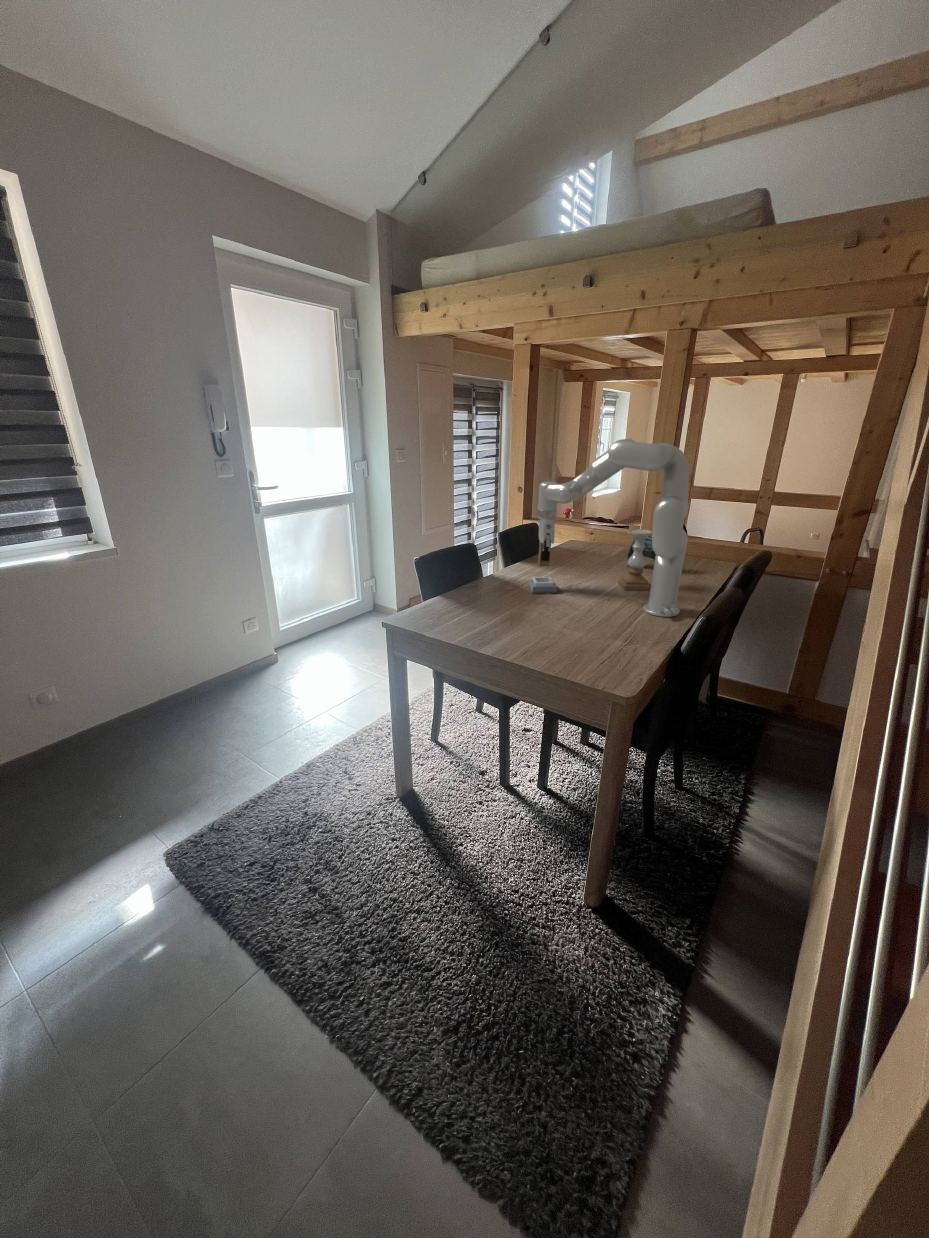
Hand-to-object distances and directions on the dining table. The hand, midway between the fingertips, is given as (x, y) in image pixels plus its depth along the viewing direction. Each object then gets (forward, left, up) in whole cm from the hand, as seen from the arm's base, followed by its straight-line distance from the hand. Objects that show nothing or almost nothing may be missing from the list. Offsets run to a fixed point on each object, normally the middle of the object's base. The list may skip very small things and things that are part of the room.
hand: (543, 558), depth 202 cm
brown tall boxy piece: (0, 0, -3) cm, 3 cm away
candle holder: (+4, -40, -14) cm, 43 cm away
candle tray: (0, 0, -14) cm, 14 cm away
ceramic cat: (+29, -55, -14) cm, 64 cm away
